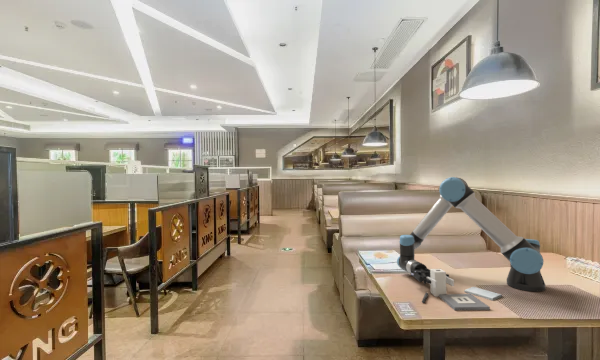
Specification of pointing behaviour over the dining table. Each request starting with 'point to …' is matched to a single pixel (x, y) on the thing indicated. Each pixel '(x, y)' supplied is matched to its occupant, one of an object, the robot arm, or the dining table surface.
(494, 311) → the dining table surface
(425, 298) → the dark grey rod
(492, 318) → the dining table surface
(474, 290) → the hard drive
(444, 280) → the charger brick
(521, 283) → the robot arm
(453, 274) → the dining table surface
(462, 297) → the plate
